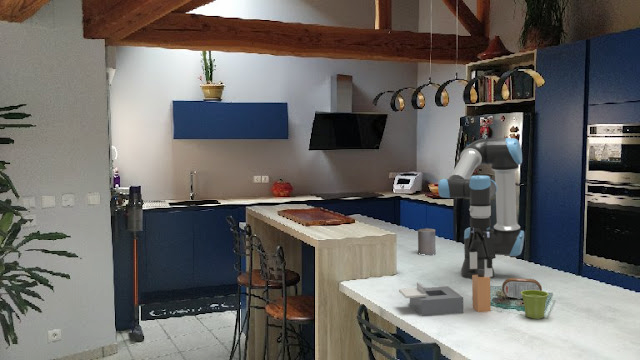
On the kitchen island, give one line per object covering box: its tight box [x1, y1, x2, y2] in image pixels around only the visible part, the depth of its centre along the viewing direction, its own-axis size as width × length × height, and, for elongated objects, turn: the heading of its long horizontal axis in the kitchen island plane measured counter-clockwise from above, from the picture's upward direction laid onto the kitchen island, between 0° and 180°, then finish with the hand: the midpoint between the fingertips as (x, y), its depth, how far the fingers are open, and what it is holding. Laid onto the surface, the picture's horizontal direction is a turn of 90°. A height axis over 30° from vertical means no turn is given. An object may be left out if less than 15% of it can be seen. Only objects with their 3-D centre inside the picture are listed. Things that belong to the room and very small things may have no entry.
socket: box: [409, 285, 464, 317], centre depth 218 cm, size 16×16×6 cm
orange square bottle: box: [471, 269, 492, 313], centre depth 214 cm, size 5×5×16 cm
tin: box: [501, 277, 543, 298], centre depth 226 cm, size 15×3×8 cm, turn 71°
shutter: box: [398, 282, 427, 299], centre depth 216 cm, size 8×10×3 cm
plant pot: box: [521, 290, 550, 320], centre depth 204 cm, size 9×9×9 cm
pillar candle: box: [417, 227, 436, 256], centre depth 317 cm, size 10×10×15 cm
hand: (480, 272), depth 213 cm, fingers open, 13 cm apart
